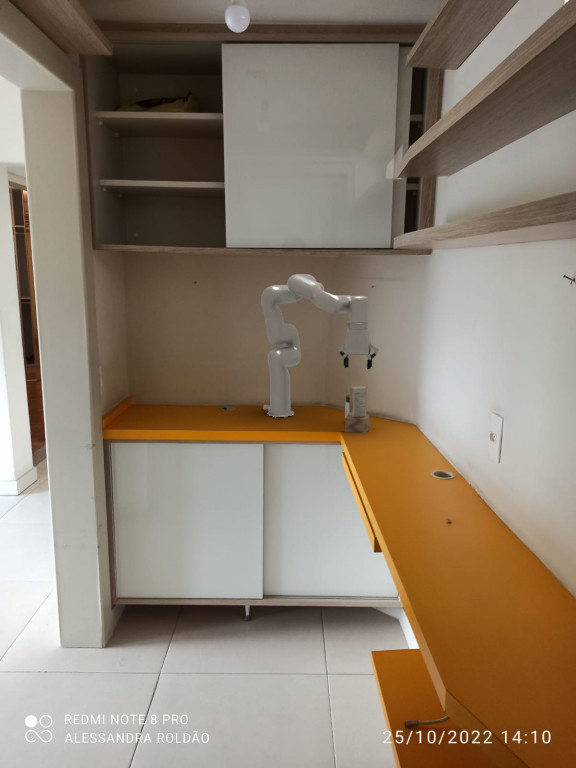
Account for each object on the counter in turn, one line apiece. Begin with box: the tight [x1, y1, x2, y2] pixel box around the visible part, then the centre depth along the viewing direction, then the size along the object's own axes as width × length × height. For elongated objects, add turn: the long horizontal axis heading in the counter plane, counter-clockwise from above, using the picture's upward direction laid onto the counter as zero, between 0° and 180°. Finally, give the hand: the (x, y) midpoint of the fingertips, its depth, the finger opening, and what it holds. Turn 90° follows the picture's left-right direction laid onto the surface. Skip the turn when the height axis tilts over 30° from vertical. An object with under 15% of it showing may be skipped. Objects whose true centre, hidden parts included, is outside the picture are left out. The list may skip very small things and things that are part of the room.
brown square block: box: [344, 413, 370, 434], centre depth 231 cm, size 9×9×6 cm
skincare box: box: [349, 385, 368, 417], centre depth 229 cm, size 6×4×12 cm
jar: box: [344, 394, 350, 419], centre depth 242 cm, size 9×8×12 cm
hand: (357, 368), depth 227 cm, fingers open, 9 cm apart
